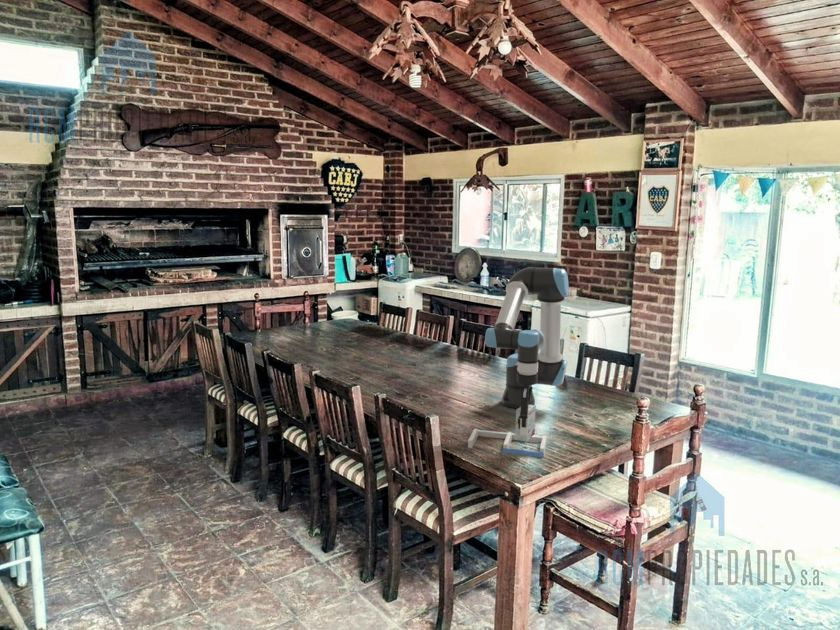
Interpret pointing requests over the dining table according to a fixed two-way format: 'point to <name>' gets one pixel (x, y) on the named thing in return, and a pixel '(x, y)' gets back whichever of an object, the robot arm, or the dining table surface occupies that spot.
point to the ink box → (530, 424)
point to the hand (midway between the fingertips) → (525, 430)
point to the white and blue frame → (508, 439)
